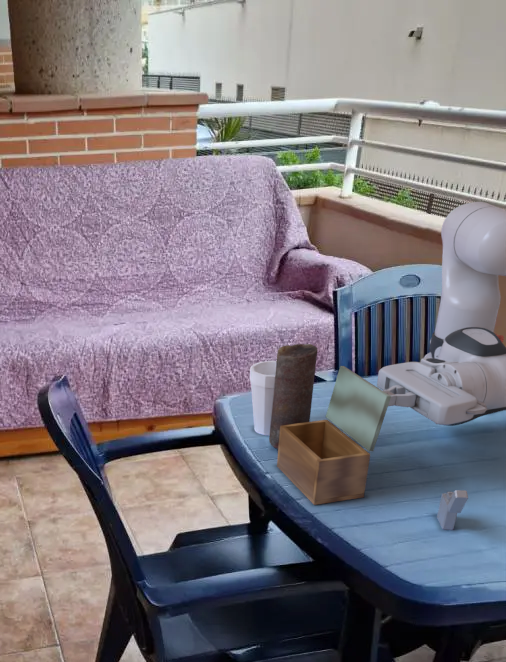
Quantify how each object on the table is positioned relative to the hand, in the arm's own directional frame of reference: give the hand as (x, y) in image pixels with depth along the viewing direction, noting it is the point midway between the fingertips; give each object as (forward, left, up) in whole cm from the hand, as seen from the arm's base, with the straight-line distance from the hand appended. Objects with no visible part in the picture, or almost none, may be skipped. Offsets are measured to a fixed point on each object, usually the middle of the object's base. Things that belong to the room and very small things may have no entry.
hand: (381, 399), depth 127 cm
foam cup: (0, -26, -15) cm, 30 cm away
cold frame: (+9, -4, -14) cm, 17 cm away
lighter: (+5, +20, -15) cm, 25 cm away
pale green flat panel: (+4, -2, -1) cm, 5 cm away
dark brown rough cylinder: (+3, -17, -15) cm, 23 cm away
